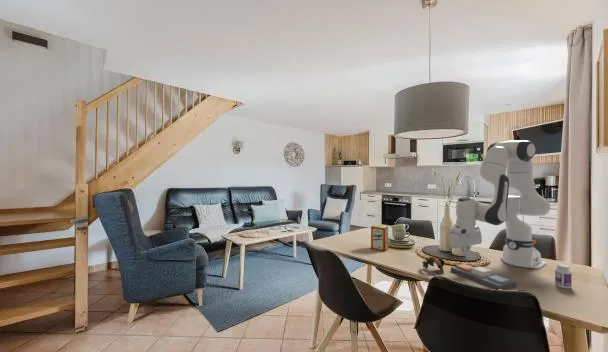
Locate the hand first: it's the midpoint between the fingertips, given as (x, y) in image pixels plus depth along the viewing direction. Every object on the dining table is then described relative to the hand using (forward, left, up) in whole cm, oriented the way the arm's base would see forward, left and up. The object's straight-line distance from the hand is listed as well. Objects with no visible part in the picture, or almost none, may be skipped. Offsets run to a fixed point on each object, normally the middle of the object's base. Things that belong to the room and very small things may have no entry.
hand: (465, 253), depth 135 cm
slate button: (+1, +17, -9) cm, 19 cm away
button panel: (+1, +9, -10) cm, 13 cm away
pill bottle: (-25, +29, -10) cm, 39 cm away
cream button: (+1, +9, -8) cm, 12 cm away
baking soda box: (+17, -49, -10) cm, 53 cm away
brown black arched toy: (+14, -7, -10) cm, 18 cm away
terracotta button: (+1, +1, -9) cm, 9 cm away
